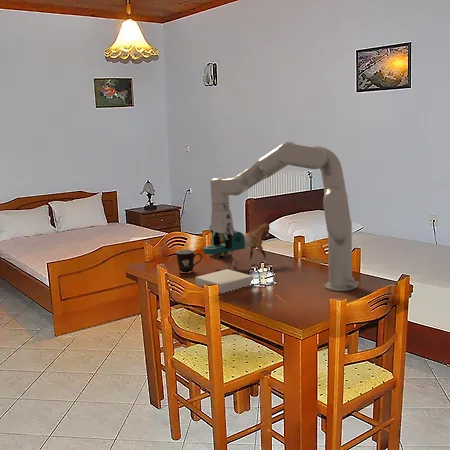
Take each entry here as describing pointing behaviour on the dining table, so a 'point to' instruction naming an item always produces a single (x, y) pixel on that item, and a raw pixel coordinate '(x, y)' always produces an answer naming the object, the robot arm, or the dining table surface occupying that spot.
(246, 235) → the horse figurine
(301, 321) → the dining table surface
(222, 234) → the mossy rock spire
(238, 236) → the bracket
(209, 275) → the block
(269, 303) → the dining table surface
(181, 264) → the coffee mug
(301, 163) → the robot arm
